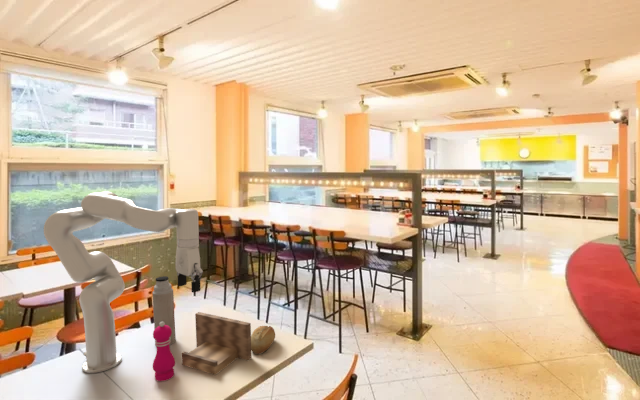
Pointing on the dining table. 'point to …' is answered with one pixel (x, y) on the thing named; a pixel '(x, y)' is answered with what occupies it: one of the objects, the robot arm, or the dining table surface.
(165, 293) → the thermos bottle
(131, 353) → the dining table surface
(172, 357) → the pepper mill
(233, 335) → the wall shelf
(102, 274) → the robot arm
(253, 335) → the bread roll
